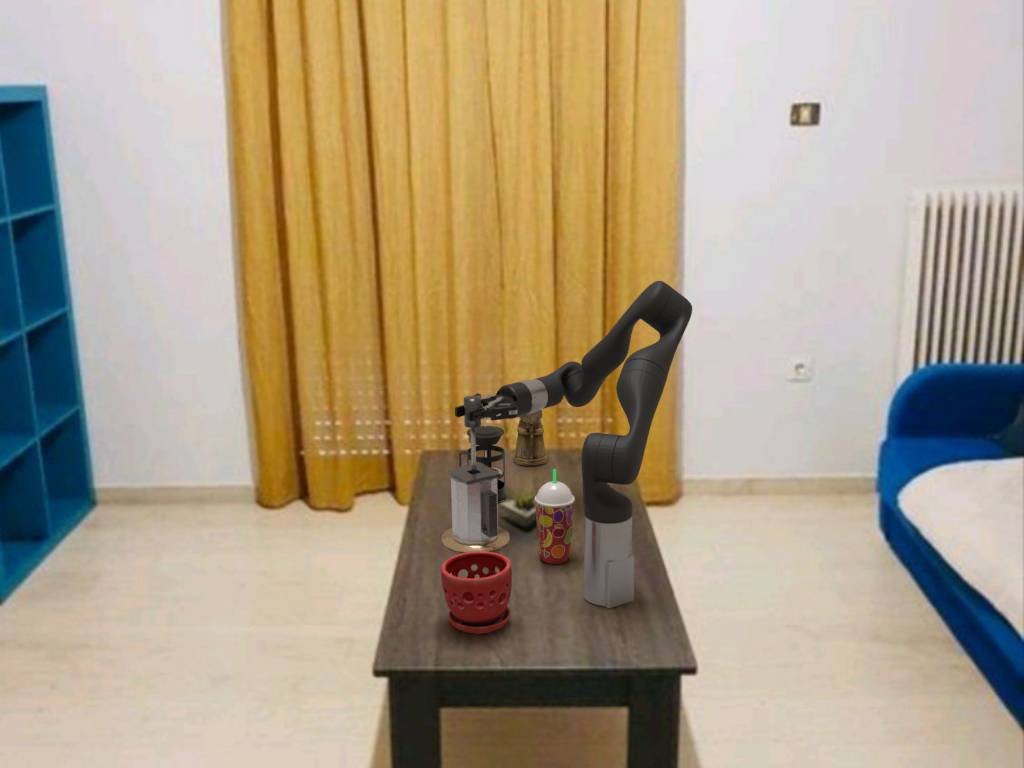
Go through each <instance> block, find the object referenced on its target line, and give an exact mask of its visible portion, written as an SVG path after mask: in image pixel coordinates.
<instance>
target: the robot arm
mask: <svg viewBox="0 0 1024 768" xmlns="http://www.w3.org/2000/svg"><path fill="white" fill-rule="evenodd" d="M692 313H693V305H692V303H691V302H690V301H689V300H688V299H687V298H686V297H685V296H684V295H682V294H681V293H680V292H679V291H677V290H676V289H674V288H673V287H672V286H671V285H669V284H668V283H667V282H665V281H662V280H655V281H653V282H652V283H651V284H649V285H648V286H647V287H646V288H645V289H644V290H643V291H642V292H641V293H640V294H639V295H638V296H637V298H636V299H635V300H634V301H633V302H632V304H630V306H629V307H627V309H626V310H625V312H624V313H623V314H622V315H621V317H620V318H619V319H618V320H617V321H616V323H615V324H614V325H613V326H612V328H611V329H610V330H609V332H607V334H606V335H605V336H603V338H602V339H601V340H600V341H599V342H597V344H595V345H594V346H593V347H592V348H591V349H590V350H589V351H588V352H587V353H586V354H585V355H583V356H582V358H581V362H580V363H579V362H577V361H572V360H571V361H568V362H565V363H564V364H563V365H561V366H560V367H559V368H557V369H555V371H553V372H551V373H549V374H546V375H544V376H541V377H538V378H533V379H523V380H521V381H516V382H513V383H509V384H505V385H501V386H500V388H498V390H497V392H496V394H495V393H494V394H488V396H483V397H482V394H481V393H476V394H474V395H472V396H478V397H480V398H481V408H478V409H474V410H470V411H468V412H467V420H468V421H470V422H471V421H475V420H479V419H481V420H482V419H483V420H485V419H486V420H488V419H490V420H491V421H499V420H506V419H508V420H511V419H517V418H520V416H524V415H527V414H531V413H534V412H537V411H539V410H541V411H542V410H543V409H547V408H548V409H549V408H551V407H554V406H557V405H558V404H560V403H562V401H563V399H564V398H565V400H566V402H567V403H568V404H569V405H570V406H571V407H574V408H581V407H584V406H586V405H589V403H591V402H592V400H593V399H595V397H596V395H597V394H598V392H599V390H600V388H601V387H602V385H603V384H604V382H605V380H606V379H607V378H608V377H609V376H610V375H611V374H612V373H613V372H614V371H615V370H617V369H618V368H619V367H621V365H622V364H623V365H622V368H621V371H620V373H619V377H618V378H617V381H616V386H615V389H616V396H617V399H618V401H619V404H620V406H621V409H622V410H623V412H624V415H625V417H626V418H627V421H628V425H629V430H628V433H627V434H625V435H622V434H613V433H606V432H591V433H589V434H588V435H587V436H586V437H585V439H584V441H583V444H582V449H581V450H582V451H581V477H582V479H581V480H582V502H583V597H584V599H585V600H586V601H588V603H591V604H593V605H595V606H596V605H597V606H600V607H604V608H607V609H612V608H615V607H618V606H621V605H624V604H628V603H631V602H634V600H635V599H634V597H635V556H634V555H633V553H632V546H633V545H632V544H633V543H632V542H633V537H632V536H633V503H632V500H631V499H630V498H629V497H628V496H627V495H625V494H623V493H621V492H619V491H618V490H616V489H615V488H613V486H612V487H611V485H610V484H613V485H614V484H615V485H621V486H622V485H623V486H624V485H627V486H628V485H632V484H633V483H635V481H636V480H637V478H638V475H639V473H640V471H641V469H642V468H641V467H642V464H643V460H644V456H645V450H646V448H647V443H648V438H649V434H650V430H651V426H652V424H653V420H654V417H655V415H656V412H657V408H658V406H659V403H660V400H661V398H662V395H663V392H664V389H665V386H666V383H667V380H668V376H669V373H670V371H671V366H672V363H673V361H674V357H675V355H676V352H677V350H678V348H679V344H680V342H681V341H682V338H683V336H684V333H685V331H686V329H687V327H688V325H689V324H690V323H689V322H690V320H691V317H692ZM640 320H642V321H643V322H645V323H646V324H647V325H648V326H649V327H651V328H653V329H654V331H656V332H658V334H659V339H658V340H657V341H656V342H655V343H652V344H650V345H648V346H645V347H643V348H640V349H638V350H636V351H635V352H633V353H631V354H630V355H629V356H628V354H629V350H630V347H631V339H632V333H633V330H634V327H635V325H636V324H637V323H638V322H639V321H640ZM627 356H628V357H627ZM454 416H455V417H456V418H461V417H464V404H462V405H457V406H455V407H454Z"/></svg>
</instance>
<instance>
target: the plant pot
mask: <svg viewBox="0 0 1024 768" xmlns="http://www.w3.org/2000/svg"><path fill="white" fill-rule="evenodd" d="M475 565H476V567H477V568H476V569H472V566H475ZM485 568H486V569H487V570H488V573H485V572H484V571H483V570H484V569H485ZM496 568H497V569H498V570H499V572H497V571H496ZM462 570H465V571H466V572H467V576H466V577H459V573H460V571H462ZM476 575H478V576H479V577H476ZM440 578H441V585H442V592H443V594H444V598H445V602H446V605H447V607H448V609H449V612H448V620H449V622H450V624H451V625H452V626H453V627H454V628H456V629H457V630H458V631H460V632H461V631H462V632H463V633H469V634H470V633H471V634H487V633H493V632H495V631H497V630H499V629H501V628H504V626H506V625H507V623H508V622H509V620H510V618H511V613H512V612H511V609H510V607H509V606H508V605H509V602H510V600H511V594H512V586H513V572H512V562H511V560H510V559H509V558H508V557H506V556H505V555H503V554H501V553H497V552H494V551H491V552H484V551H476V552H467V553H459V554H456V555H453V556H451V557H450V558H448V559H446V560H445V561H444V562H443V563H442V565H441V567H440Z"/></svg>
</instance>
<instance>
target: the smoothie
mask: <svg viewBox="0 0 1024 768" xmlns="http://www.w3.org/2000/svg"><path fill="white" fill-rule="evenodd" d="M537 491H538V492H537V494H535V497H534V504H535V505H534V506H535V519H536V520H535V521H536V531H537V532H536V533H537V534H536V535H537V545H538V549H537V550H538V555H539V556H540V558H541V560H542V561H543V562H545V563H546V564H550V565H559V564H563V563H565V562H567V561H568V560H569V557H570V556H571V554H572V543H573V542H572V541H573V529H574V528H573V527H574V515H575V514H574V511H575V501H576V498H575V495H573V493H572V490H571V489H570V488H569V486H567V484H565V483H563V482H561V481H558V480H557V469H556V468H554V469H552V481H551V480H550V481H548V482H546V483H544V484H543V485H542V486H540V488H539V490H537Z"/></svg>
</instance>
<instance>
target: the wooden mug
mask: <svg viewBox="0 0 1024 768" xmlns="http://www.w3.org/2000/svg"><path fill="white" fill-rule="evenodd" d="M542 418H543V410H542V409H541V410H539V411H537V412H534V413H531V414H527V415H524V416H520V417H519V421H518V425H517V431H516V432H517V436H516V443H515V450H514V451H515V452H514V455H513V463H515V464H516V465H518V466H522V467H539V466H542V465H545V464H546V463H547V462H548V455H547V453H546V446H545V439H544V433H545V429H544V425H543V422H542V420H541V419H542Z"/></svg>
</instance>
